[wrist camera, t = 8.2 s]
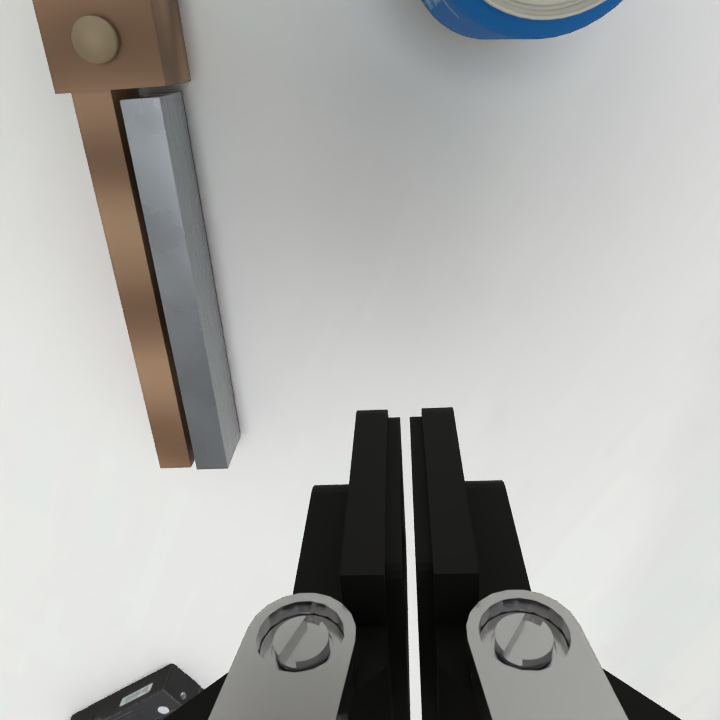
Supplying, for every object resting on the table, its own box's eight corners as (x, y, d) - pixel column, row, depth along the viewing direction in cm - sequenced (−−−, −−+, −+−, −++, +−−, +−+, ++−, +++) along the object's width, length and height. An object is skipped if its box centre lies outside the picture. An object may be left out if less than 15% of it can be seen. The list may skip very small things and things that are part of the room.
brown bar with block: (71, -3, 27) (21, -10, 24) (175, -12, 27) (141, -20, 23) (170, 436, 37) (145, 481, 33) (248, 434, 36) (232, 478, 33)
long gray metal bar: (145, 94, 29) (119, 99, 26) (181, 91, 29) (158, 97, 26) (211, 437, 36) (197, 469, 34) (240, 436, 36) (227, 468, 34)
